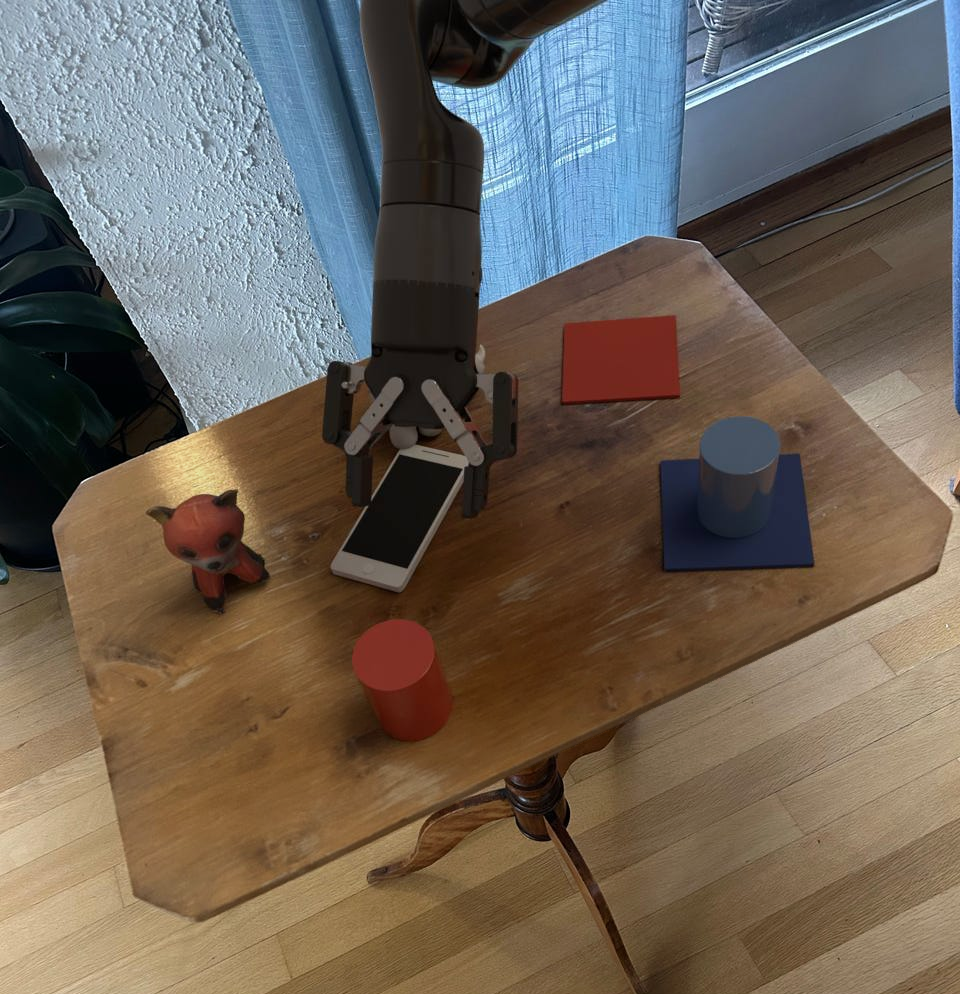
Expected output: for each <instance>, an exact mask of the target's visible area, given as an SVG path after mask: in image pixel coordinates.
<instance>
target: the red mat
mask: <svg viewBox="0 0 960 994" xmlns="http://www.w3.org/2000/svg"><path fill="white" fill-rule="evenodd" d="M677 329H678V328H677V315H676V314H673V315H659V316H646V317H645V316H643V317H630V318H620V319H619V318H617V319H604V320H603V319H602V320H591V321H577V322H576V321H575V322H565V323H564V329H563V358H562V360H563V361H562V387H561V388H562V389H561V405H564V406H565V405H581V404H596V403H610V402H611V403H614V402H630V401H647V400H663V399H664V400H665V399H679V398H681V388H680V369H679V351H678V349H679V347H678V334H677V333H678V331H677Z"/></svg>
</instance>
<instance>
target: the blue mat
mask: <svg viewBox="0 0 960 994" xmlns="http://www.w3.org/2000/svg"><path fill="white" fill-rule="evenodd" d="M801 459H802V458H801V454H800V453H784V454H783V453H782V454H779V461H778V468H777V476H776V483H775V490H774V497H773V504H772V511H771V516H770V519H769V521H768V522H767V524H766V525H765V526H764V527H763V528H762V529H761V530H759V531H758V532H756V533H754V534H752V535H749V536H746V537H741V538H728V537H723V536H719V535H717V534H714V533H712V532H711V531H709V530H708V529H707V528H705V527H704V526H703V524H702V523H701V522H700V520H699V518H698V515H697V491H698V469H699V458H687V459H686V458H685V459H684V458H683V459H666V460H660V487H661V490H660V491H661V514H662V515H661V519H662V521H661V522H662V540H663V541H662V545H663V547H662V548H663V571H664V572H687V571H690V572H691V571H692V572H693V571H719V570H721V571H722V570H724V571H725V570H749V569H750V570H753V569H782V568H783V569H784V568H809V567H810V568H811V567H812V568H813V567H815V559H814V550H813V542H812V536H811V528H810V520H809V511H808V504H807V498H806V491H805V483H804V474H803V467H802V460H801Z"/></svg>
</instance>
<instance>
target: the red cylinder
mask: <svg viewBox="0 0 960 994" xmlns="http://www.w3.org/2000/svg"><path fill="white" fill-rule="evenodd" d="M351 664H352V669H353V672H354V674H355V676H356V678H357V680H358V683H359V684H360V686H361V689H362V690H363V692H364V694H365V697H366V699H367V700H368V703H369V704H370V707H371V709H372V712H373V713H374V715H375V717H376V719H377V721H378V723H379V725H380V726H381V728H382V729H383V730H384V732H386V733H387V735H389V736H391V737H393V738H395V739H396V740H397V739H398V740H401V741H406V742H414V741H415V742H416V741H421V740H424V739H427V738H429V737H431V736H433V735H435V734H437V733H438V732H439V731H440V730H441V729H443V727H444V726H445V725H446V724H447V722H448V720H449V719H450V718H451V715H452V711H453V707H454V700H453V695H452V691H451V688H450V686H449V683H448V682H449V681H448V679H447V676H446V674H445V671H444V668H443V665H442V663H441V660H440V656H439V654H438V651H437V648H436V645H435V643H434V640H433V637H432V635H431V634H430V632H429V631H428V630H427V629H426V628H425V627H424V626H422V625H421V624H419V623H417V622H415V621H413V620H410V619H403V618H402V619H401V618H395V619H388V620H385V621H382V622H379V623H377V624H375V625H373V626H372V627H369V629H367V630H366V631H365V632H364V633H363V634H362V635H361V636H360V638H359V639H358V641H357V642H356V644H355V646H354V649H353V652H352V656H351Z"/></svg>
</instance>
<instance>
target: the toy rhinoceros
mask: <svg viewBox="0 0 960 994" xmlns="http://www.w3.org/2000/svg"><path fill="white" fill-rule="evenodd" d="M485 358H486V349H485V347H484V346H483V345H482V344H481V343H480V344H479V349H478V351H477V352H476V356H475V363H476V367H477V370H478V372H479V374H485V370H486V366H485V363H484V361H485ZM366 387H367V388H366V390H367V393H368V397H369V400H370V402H371V405H372V404H373V402H374V401H375V398H374V396H373V395H372V393H371V391H370V390H369V388H368V386H366ZM417 430H418V431H417ZM443 430H444V429H437V430H434V429H425V428H422V427H419V426H415V427H396V426H395V425H394V424H393V425H392V427H391V428H390V429H389V430H388V431H389V438H390V441H391V444H392V445H393V446H394V447H395V448H396V449H399V450H400V449H406V448H410V447H412V446H413V445H416V443H417V441H418V437H419V435H418V434H419V433H420V434H421V435H422V436H425V437H436V436H438V435H440V434H441V433H442V432H443ZM418 432H419V433H418Z"/></svg>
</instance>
